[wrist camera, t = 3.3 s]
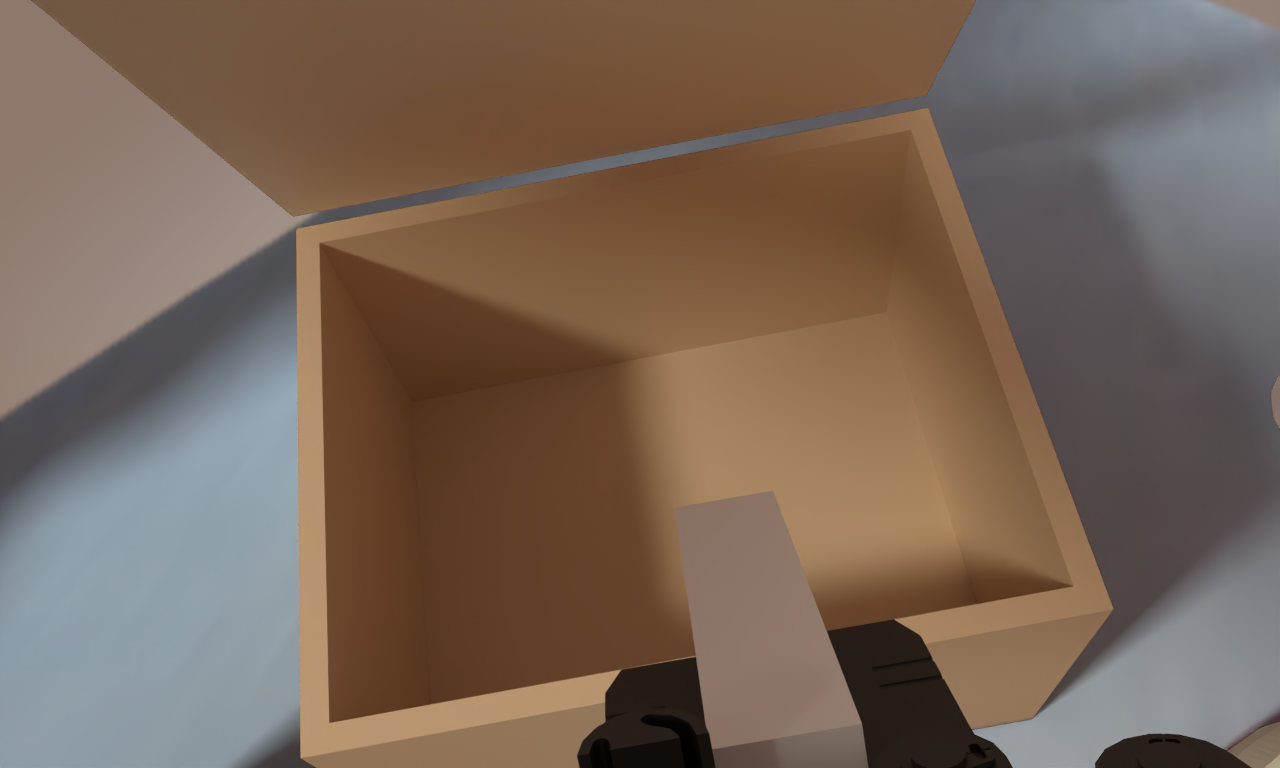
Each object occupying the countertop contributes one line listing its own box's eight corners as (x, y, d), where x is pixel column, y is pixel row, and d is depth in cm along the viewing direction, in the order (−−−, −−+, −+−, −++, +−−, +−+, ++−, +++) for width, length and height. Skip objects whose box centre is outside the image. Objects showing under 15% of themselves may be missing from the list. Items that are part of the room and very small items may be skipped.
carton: (1031, 719, 42) (1113, 609, 31) (420, 830, 42) (300, 758, 32) (898, 299, 51) (927, 105, 40) (396, 393, 51) (295, 226, 41)
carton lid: (1113, -265, 22) (1103, -302, 22) (-20, -42, 23) (-24, -80, 23) (926, 95, 40) (921, 73, 40) (293, 216, 41) (290, 194, 41)
